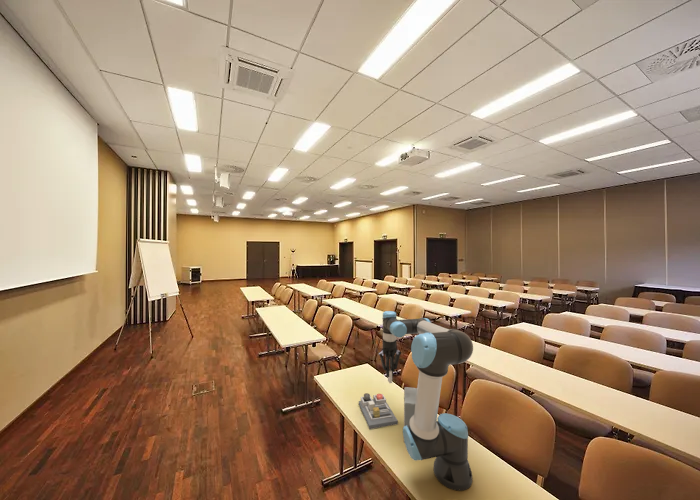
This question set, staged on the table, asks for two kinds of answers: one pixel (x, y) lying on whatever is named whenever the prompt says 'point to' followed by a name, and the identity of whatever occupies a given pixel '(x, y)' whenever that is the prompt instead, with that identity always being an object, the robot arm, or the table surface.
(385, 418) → the panel
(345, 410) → the table surface
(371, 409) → the slider white
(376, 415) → the slider brass
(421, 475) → the table surface
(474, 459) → the table surface
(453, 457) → the robot arm
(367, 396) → the button black
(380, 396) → the button red
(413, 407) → the hard drive box
